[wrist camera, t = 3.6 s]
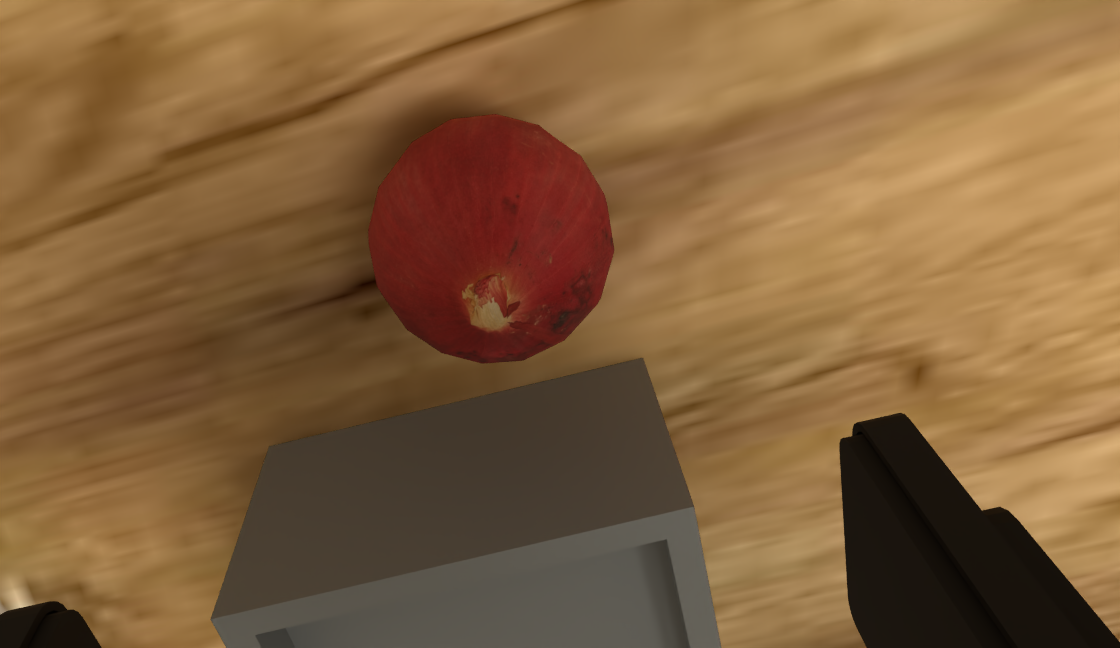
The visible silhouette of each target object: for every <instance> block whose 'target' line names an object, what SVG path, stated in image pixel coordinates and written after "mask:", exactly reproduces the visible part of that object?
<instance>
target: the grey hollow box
mask: <svg viewBox="0 0 1120 648" xmlns="http://www.w3.org/2000/svg"><path fill="white" fill-rule="evenodd" d="M211 621H212V623H213V625H214V626H215V628H216V630H217V632H218V633H219V635H220V637H221V639H222V641H223V642H224V644H225V646H226V648H721V643H720V638H719V633H718V628H717V623H716V618H715V612H714V607H713V602H712V597H711V592H710V587H709V581H708V576H707V571H706V566H705V561H704V556H703V550H702V545H701V540H700V535H699V530H698V525H697V519H696V514H695V509H694V505H693V502H692V499H691V496H690V493H689V490H688V488H687V485H686V482H685V479H684V476H683V473H682V470H681V467H680V464H679V461H678V458H677V456H676V453H675V450H674V447H673V444H672V441H671V438H670V435H669V432H668V429H667V426H666V424H665V421H664V418H663V415H662V412H661V409H660V406H659V403H658V400H657V397H656V394H655V392H654V389H653V386H652V383H651V380H650V377H649V374H648V371H647V368H646V365H645V362H644V360H643V358H640V359H636V360H632V361H627V362H623V363H619V364H615V365H610V366H606V367H602V368H598V369H594V370H589V371H585V372H581V373H577V374H573V375H568V376H564V377H560V378H556V379H551V380H547V381H543V382H539V383H535V384H530V385H526V386H522V387H518V388H514V389H509V390H505V391H501V392H497V393H492V394H488V395H484V396H480V397H476V398H471V399H467V400H463V401H459V402H454V403H450V404H446V405H442V406H438V407H433V408H429V409H425V410H421V411H417V412H412V413H408V414H404V415H400V416H395V417H391V418H387V419H383V420H379V421H374V422H370V423H366V424H362V425H357V426H353V427H349V428H345V429H341V430H336V431H332V432H328V433H324V434H320V435H315V436H311V437H307V438H303V439H298V440H294V441H290V442H286V443H282V444H277V445H273V446H269V448H268V451H267V454H266V457H265V460H264V463H263V466H262V469H261V472H260V475H259V478H258V481H257V484H256V487H255V490H254V493H253V496H252V499H251V502H250V505H249V508H248V510H247V513H246V516H245V519H244V522H243V525H242V528H241V531H240V534H239V537H238V540H237V543H236V546H235V549H234V552H233V555H232V558H231V561H230V564H229V567H228V570H227V573H226V575H225V578H224V581H223V584H222V587H221V590H220V593H219V596H218V599H217V602H216V605H215V608H214V611H213V614H212V617H211Z"/></svg>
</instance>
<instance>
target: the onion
mask: <svg viewBox="0 0 1120 648" xmlns="http://www.w3.org/2000/svg"><path fill="white" fill-rule="evenodd" d="M368 234H369V248H370V253H371V258H372V263H373V268H374V273H375V278H376V284H377V287H378V288H379V290H380V292H381V293H382V295H383V297H384V298H385V299H386V301H387V302H388V304H389V305H390V306H391V308H392V309H393V311H394V312H395V314H396V315H397V316H398V318H399V319H400V321H401V322H402V323H403V325H404V326H405V328H406V329H407V330H408V331H410V332H411V333H413V334H414V335H416V336H417V337H419V338H420V339H422V340H423V341H425V342H426V343H428V344H429V345H431V346H432V347H434V348H435V349H437V350H438V351H440V352H441V353H444V354H448V355H452V356H456V357H460V358H463V359H467V360H471V361H475V362H479V363H496V362H509V361H522V360H525V359H527V358H529V357H531V356H533V355H535V354H537V353H539V352H541V351H543V350H546V349H548V348H550V347H552V346H554V345H556V344H558V343H560V342H562V341H564V340H565V339H566V338H567V337H568V336H569V335H570V334H571V333H572V332H573V330H574V329H575V328H576V327H577V326H578V325H579V324H580V323H581V322H582V321H583V319H584V318H585V317H586V316H587V315H588V314H589V313H590V312H591V311H592V309H593V308H594V307H595V306H596V305H597V304H598V302H599V300H600V298H601V295H602V292H603V288H604V285H605V281H606V278H607V274H608V271H609V267H610V264H611V260H612V257H613V253H614V245H613V239H612V233H611V226H610V220H609V214H608V207H607V202H606V198H605V195H604V193H603V191H602V189H601V188H600V186H599V185H598V183H597V181H596V180H595V178H594V176H593V175H592V173H591V172H590V170H589V168H588V167H587V165H586V163H585V162H584V160H583V159H582V157H581V156H580V155H579V154H577V153H576V152H575V151H573V150H572V149H570V148H569V147H567V146H566V145H565V144H563V143H562V142H560V141H559V140H557V139H556V138H555V137H553V136H552V135H551V134H549V133H548V132H547V131H546V130H544V129H543V128H542V127H540V126H539V125H536V124H532V123H528V122H524V121H521V120H517V119H513V118H509V117H505V116H501V115H497V114H492V115H484V116H475V117H466V118H457V119H450V120H449V121H447V122H445V123H444V124H442V125H440V126H438V127H437V128H435V129H433V130H432V131H430V132H428V133H427V134H425V135H423V136H422V137H420V138H418V139H417V140H415V141H413V142H412V143H411V144H410V146H409V147H408V148H407V150H406V151H405V152H404V154H403V155H402V156H401V158H400V159H399V160H398V162H397V163H396V165H395V166H394V167H393V169H392V170H391V171H390V173H389V174H388V175H387V177H386V178H385V179H384V181H383V182H382V184H381V185H380V186H379V188H378V192H377V196H376V200H375V204H374V209H373V213H372V217H371V221H370V225H369V229H368Z"/></svg>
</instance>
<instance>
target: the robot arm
mask: <svg viewBox="0 0 1120 648" xmlns="http://www.w3.org/2000/svg"><path fill="white" fill-rule="evenodd" d="M840 466H841V483H842V501H843V518H844V536H845V553H846V571H847V588H848V601H849V606H850V610H851V614H852V617H853V620H854V622H855V625H856V627H857V629H858V631H859V633H860V635H861V637H862V639H863V641H864V643H865V645H866V647H867V648H1120V642H1119V641H1118V640H1117V638H1116V637H1115V636H1114V635H1113V634H1112V632H1111V631H1110V630H1109V629H1108V628H1107V626H1106V625H1105V624H1104V623H1103V622H1102V620H1101V619H1100V618H1099V617H1098V616H1097V614H1096V613H1095V612H1094V611H1093V610H1092V608H1091V607H1090V606H1089V605H1088V604H1087V602H1086V601H1085V600H1084V599H1083V598H1082V596H1081V595H1080V594H1079V593H1078V592H1077V590H1076V589H1075V588H1074V587H1073V586H1072V584H1071V583H1070V582H1069V581H1068V580H1067V578H1066V577H1065V576H1064V575H1063V574H1062V572H1061V571H1060V570H1059V569H1058V568H1057V566H1056V565H1055V564H1054V563H1053V562H1052V560H1051V559H1050V558H1049V557H1048V556H1047V554H1046V553H1045V552H1044V551H1043V550H1042V548H1041V547H1040V546H1039V545H1038V543H1037V542H1036V541H1035V540H1034V539H1033V537H1032V536H1031V535H1030V534H1029V533H1028V531H1027V530H1026V529H1025V528H1024V527H1023V525H1022V524H1021V523H1020V522H1019V521H1018V520H1017V519H1016V518H1015V517H1014V516H1013V515H1012V514H1011V513H1010V512H1009V511H1008V510H1006V509H1003V508H1001V507H997V508H992V509H987V510H983V511H982V510H981V509H980V508H979V506H978V505H977V504H976V503H975V501H974V500H973V499H972V498H971V496H970V495H969V494H968V493H967V491H966V490H965V489H964V487H963V486H962V485H961V484H960V482H959V481H958V480H957V479H956V477H955V476H954V475H953V474H952V472H951V471H950V470H949V469H948V467H947V466H946V465H945V463H944V462H943V461H942V460H941V458H940V457H939V456H938V455H937V453H936V452H935V451H934V450H933V448H932V447H931V446H930V444H929V443H928V442H927V441H926V439H925V438H924V437H923V436H922V434H921V433H920V432H919V431H918V429H917V428H916V427H915V425H914V424H913V423H912V422H911V420H910V419H909V418H908V417H907V416H906V415H905V414H902V413H898V414H893V415H889V416H884V417H880V418H875V419H871V420H866V421H862V422H857V423H856V424H854V426H853V431H852V436H851V437H846V438H842V439H841V440H840ZM0 648H101V646H100V644H99V643H98V641H97V640H96V638H95V636H94V635H93V633H92V632H91V630H90V628H89V627H88V625H87V624H86V622H85V620H84V619H83V617H82V616H81V615H80V614H79V612H77V611H75V610H67V609H66V608H65V607H64V605H63V604H61V603H59V602H57V601H53V602H46V603H41V604H37V605H32V606H28V607H23V608H19V609H14V610H10V611H6V612H4V613H3V614H1V615H0Z"/></svg>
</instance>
